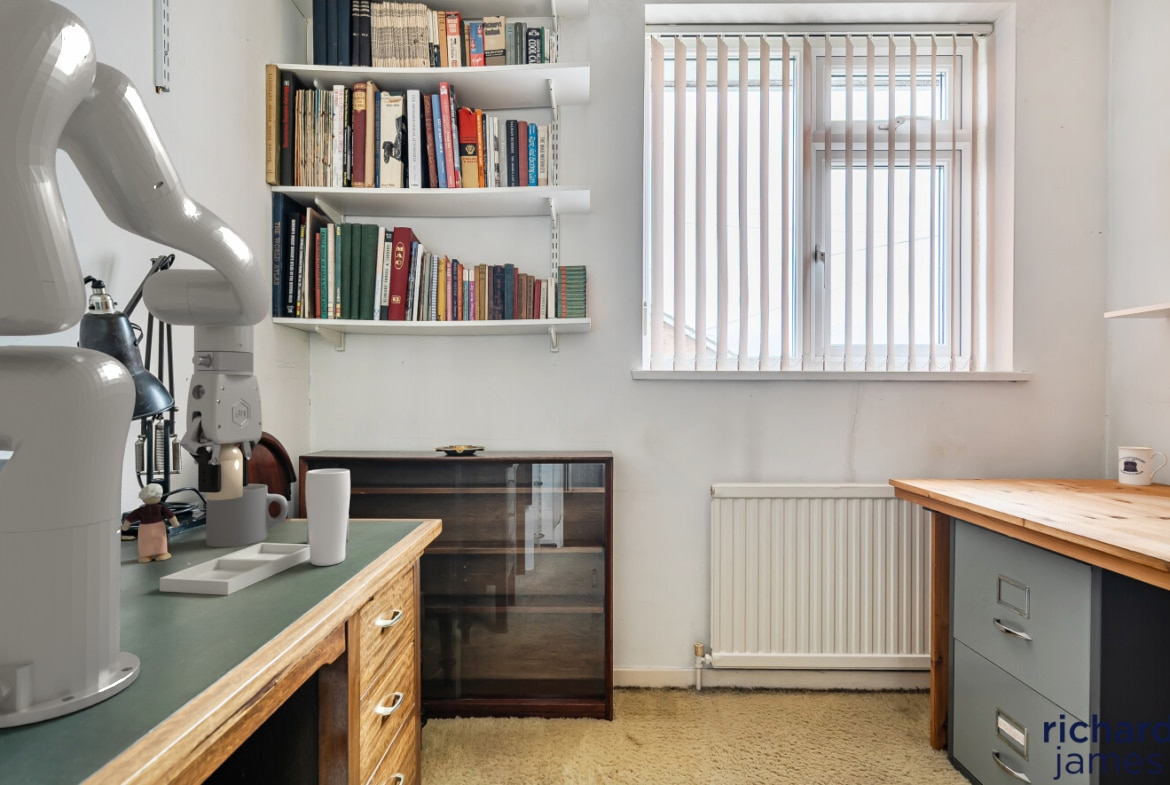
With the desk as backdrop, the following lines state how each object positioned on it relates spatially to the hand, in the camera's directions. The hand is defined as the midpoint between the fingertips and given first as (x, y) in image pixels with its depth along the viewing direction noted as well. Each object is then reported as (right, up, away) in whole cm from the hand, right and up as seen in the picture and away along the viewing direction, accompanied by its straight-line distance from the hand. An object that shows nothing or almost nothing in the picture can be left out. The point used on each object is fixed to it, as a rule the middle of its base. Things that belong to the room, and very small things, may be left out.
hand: (224, 487), depth 87 cm
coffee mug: (-11, -14, +25) cm, 31 cm away
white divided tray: (+1, -14, +4) cm, 14 cm away
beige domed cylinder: (0, -1, 0) cm, 1 cm away
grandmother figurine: (-19, -14, +11) cm, 26 cm away
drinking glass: (+11, -14, +10) cm, 20 cm away
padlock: (+5, -14, +23) cm, 28 cm away
